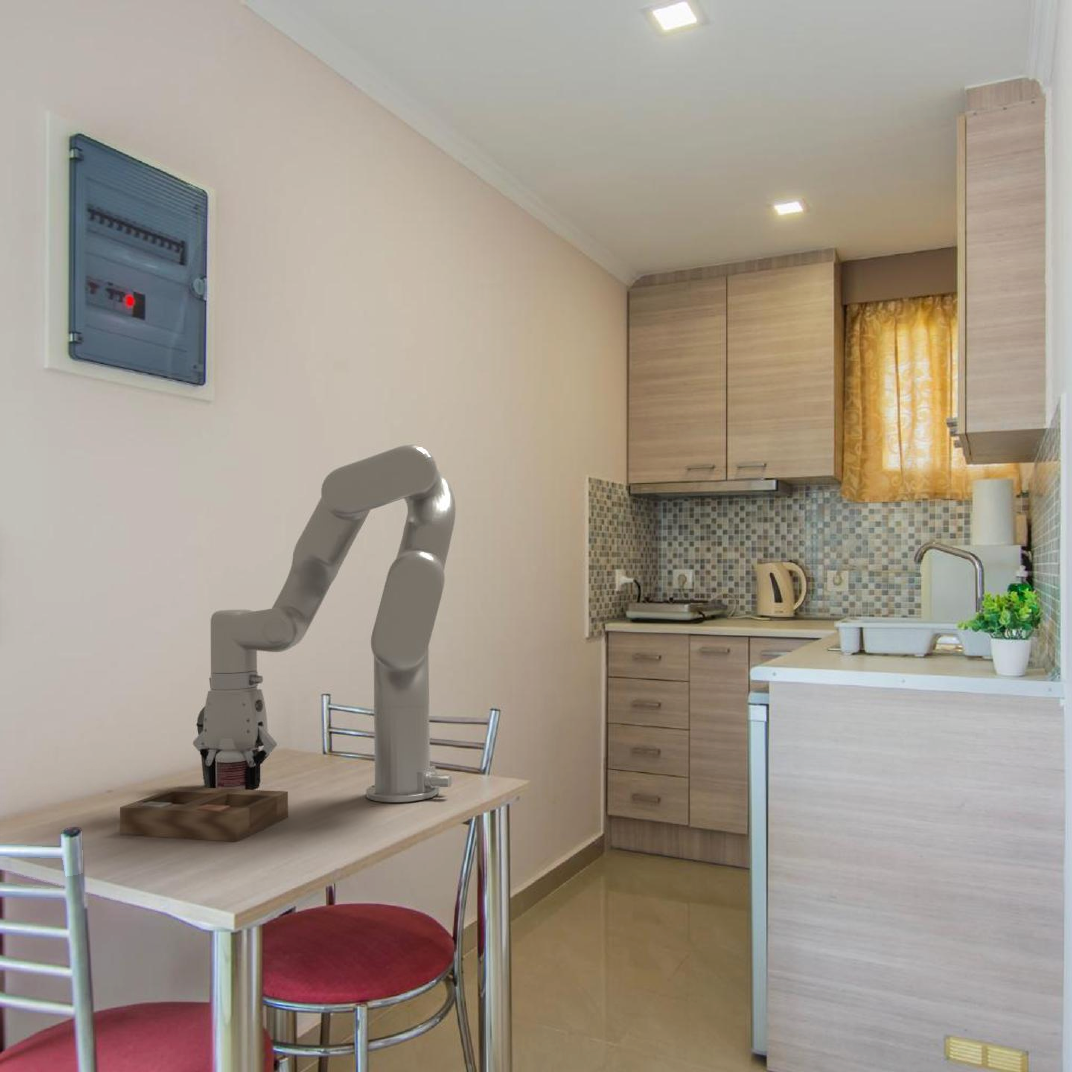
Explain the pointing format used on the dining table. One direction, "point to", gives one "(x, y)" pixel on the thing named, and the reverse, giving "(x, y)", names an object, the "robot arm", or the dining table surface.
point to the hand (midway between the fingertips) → (234, 787)
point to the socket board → (204, 813)
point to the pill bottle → (230, 766)
